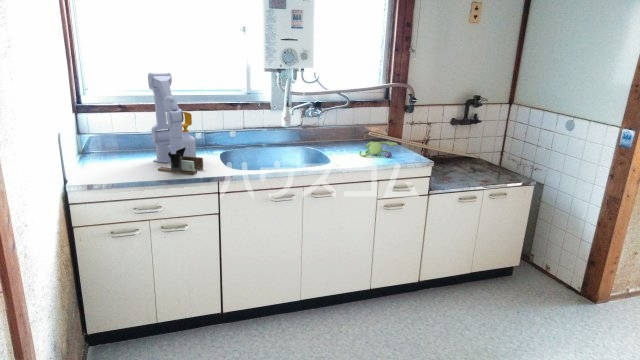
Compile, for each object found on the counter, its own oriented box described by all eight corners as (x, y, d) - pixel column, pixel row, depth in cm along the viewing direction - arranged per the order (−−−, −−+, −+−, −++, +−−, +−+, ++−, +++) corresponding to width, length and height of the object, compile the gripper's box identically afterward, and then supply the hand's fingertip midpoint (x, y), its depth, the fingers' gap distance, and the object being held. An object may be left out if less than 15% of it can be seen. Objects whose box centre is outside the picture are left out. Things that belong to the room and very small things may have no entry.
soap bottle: (174, 159, 234) (171, 111, 227) (185, 155, 242) (182, 109, 235) (188, 161, 231) (186, 113, 223) (199, 157, 239) (197, 110, 232)
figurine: (398, 149, 272) (398, 140, 270) (390, 160, 248) (391, 150, 246) (367, 146, 277) (368, 137, 276) (357, 157, 253) (358, 147, 251)
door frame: (169, 165, 224) (169, 154, 223) (204, 168, 220) (203, 157, 218) (157, 170, 215) (157, 159, 213) (193, 174, 211) (193, 163, 209)
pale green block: (182, 169, 214) (182, 160, 213) (194, 170, 213) (193, 161, 211) (180, 170, 212) (180, 160, 211) (192, 171, 211) (192, 162, 209)
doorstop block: (183, 168, 216) (182, 156, 214) (180, 171, 212) (180, 158, 210) (173, 168, 216) (172, 156, 214) (171, 170, 211) (170, 158, 210)
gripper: (171, 133, 216) (172, 160, 220) (163, 140, 202) (165, 169, 206) (186, 133, 216) (187, 161, 220) (179, 140, 202) (181, 169, 207)
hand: (177, 165), depth 213 cm, fingers open, 7 cm apart
